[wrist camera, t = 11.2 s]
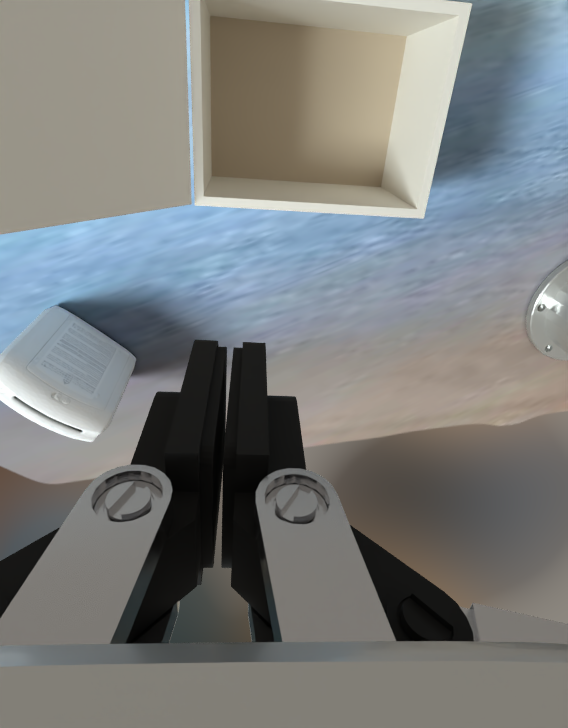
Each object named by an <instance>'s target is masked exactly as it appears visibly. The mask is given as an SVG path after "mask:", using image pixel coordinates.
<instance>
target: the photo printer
mask: <svg viewBox="0 0 568 728" xmlns="http://www.w3.org/2000/svg"><path fill="white" fill-rule="evenodd" d="M135 362H136V358H135V357H134V356H133V355H132V354H131V353H130V352H129V351H128V350H126V349H125V348H124V347H122V346H121V345H119V344H118V343H116V342H115V341H113V340H112V339H110V338H109V337H107V336H106V335H104V334H103V333H101V332H100V331H98V330H97V329H95V328H94V327H92V326H91V325H89V324H88V323H86V322H85V321H83V320H82V319H80V318H78V317H77V316H75V315H74V314H72V313H70V312H69V311H67V310H65V309H63V308H61V307H59V306H53V307H51V308H48V309H46V310H44V311H43V312H42V313H41V314H40V315H39V316H38V317H37V318H36V319H35V320H34V321H33V322H32V323H31V324H30V325H29V326H28V327H27V328H26V329H25V330H24V331H23V332H22V333H21V334H20V335H19V336H18V337H17V338H16V339H15V340H14V341H13V342H12V343H11V344H10V345H9V346H8V347H7V348H6V349H5V350H4V351H3V352H2V353H1V354H0V400H1V401H2V402H4V403H5V404H6V405H8V406H9V407H11V408H12V409H13V410H15V411H16V412H18V413H20V414H21V415H23V416H25V417H26V418H28V419H30V420H32V421H33V422H35V423H37V424H39V425H41V426H43V427H45V428H47V429H50V430H52V431H54V432H57V433H59V434H62V435H65V436H67V437H71V438H74V439H78V440H82V441H88V442H92V441H94V440H95V438H96V437H97V436H98V435H99V434H100V433H102V432H103V431H104V430H105V429H106V428H107V427H108V426H109V425H110V423H111V421H112V419H113V416H114V414H115V412H116V409H117V407H118V405H119V402H120V400H121V398H122V395H123V393H124V391H125V389H126V386H127V384H128V381H129V379H130V377H131V374H132V372H133V370H134V367H135Z"/></svg>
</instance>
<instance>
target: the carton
mask: <svg viewBox="0 0 568 728" xmlns="http://www.w3.org/2000/svg"><path fill="white" fill-rule="evenodd" d="M471 7H472V3H465V2H456V1H447V0H189V20H190V55H191V90H192V124H193V159H194V194H195V205H198V206H215V207H233V208H250V209H267V210H284V211H302V212H319V213H336V214H354V215H371V216H388V217H406V218H423V219H424V215H425V210H426V206H427V201H428V197H429V193H430V188H431V184H432V179H433V175H434V170H435V166H436V162H437V157H438V153H439V148H440V144H441V140H442V135H443V131H444V126H445V122H446V117H447V113H448V109H449V104H450V100H451V95H452V91H453V87H454V82H455V78H456V73H457V69H458V64H459V60H460V56H461V51H462V47H463V42H464V38H465V33H466V29H467V25H468V20H469V16H470V11H471Z"/></svg>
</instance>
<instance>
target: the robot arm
mask: <svg viewBox="0 0 568 728" xmlns="http://www.w3.org/2000/svg"><path fill="white" fill-rule="evenodd" d="M526 330H527V335H528V337H529V339H530V341H531V343H532V344H533V345H534V346H535V347H536V348H537V349H538V350H539V351H540V352H541V353H543V354H544V355H546V356H548V357H550V358H553V359H557V360H568V260H567V261H566V262H564V263H563V264H561V265H560V266H559V267H557V268H556V269H555V270H554V271H553V272H552V273H551V274H549V275H548V276H547V278H546V279H545V280H544V281H543V282H542V284H541V285H540V286H539V287H538V289H537V291H536V292H535V294H534V295H533V297H532V300H531V302H530V304H529V307H528V311H527V315H526ZM226 367H227V347H218V341H210V340H195V341H194V344H193V348H192V351H191V355H190V359H189V362H188V366H187V370H186V374H185V377H184V381H183V385H182V388H181V392H157V393H156V395H155V397H154V400H153V403H152V406H151V408H150V411H149V414H148V417H147V420H146V422H145V425H144V428H143V431H142V434H141V437H140V439H139V442H138V445H137V448H136V451H135V453H134V456H133V459H132V462H131V465H127V466H122V467H117V468H115V469H112V470H110V471H107V472H105V473H103V474H102V475H100V476H99V477H98V478H96V479H95V480H93V482H92V483H91V484H90V485H89V486H88V487H87V488H86V490H85V491H84V493H83V494H82V496H81V497H80V499H79V500H78V502H77V503H76V505H75V506H74V508H73V509H72V511H71V512H70V514H69V515H68V517H67V518H66V520H65V522H64V523H63V525H62V526H61V527H60V528H58V529H56V530H54V531H53V532H51V533H49V534H48V535H46V536H44V537H42V538H40V539H39V540H37V541H35V542H33V543H31V544H30V545H28V546H27V547H24V548H23V549H21V550H19V551H18V552H16V553H14V554H12V555H10V556H9V557H7V558H5V559H3V560H2V561H0V728H568V624H565V623H561V622H556V621H551V620H547V619H543V618H538V617H534V616H529V615H524V614H520V613H516V612H511V611H507V610H502V609H498V608H493V607H489V606H484V605H480V604H475V603H472V606H471V607H470V609H468V608H463V607H459V605H458V604H457V603H456V602H455V601H454V600H453V599H452V598H450V597H449V596H448V595H447V594H446V593H445V592H444V591H442V590H441V589H439V588H438V587H437V586H435V585H434V584H432V583H431V582H430V581H428V580H427V579H425V578H424V577H423V576H421V575H420V574H418V573H417V572H416V571H414V570H413V569H411V568H410V567H408V566H407V565H405V564H404V563H403V562H401V561H400V560H399V559H397V558H396V557H394V556H393V555H392V554H390V553H389V552H387V551H386V550H385V549H383V548H382V547H380V546H379V545H378V544H376V543H375V542H373V541H372V540H370V539H369V538H368V537H366V536H365V535H363V534H362V533H361V532H359V531H358V530H356V529H355V528H353V527H352V526H351V525H349V523H348V520H347V517H346V515H345V512H344V510H343V508H342V505H341V502H340V500H339V497H338V495H337V493H336V491H335V490H334V488H333V486H332V485H331V484H330V483H329V482H328V481H327V480H326V479H325V478H323V477H322V476H320V475H318V474H316V473H314V472H312V471H308V470H306V465H305V458H304V451H303V443H302V436H301V429H300V421H299V414H298V406H297V400H296V397H292V396H267V374H266V346H265V343H252V342H243V348H234V350H233V360H232V370H231V381H230V391H229V401H228V411H227V422H226ZM225 423H226V432H225ZM222 471H223V505H222V508H223V509H222V510H223V511H222V568H232V573H231V587H232V588H233V589H234V590H235V591H237V592H238V594H240V595H241V596H242V597H243V598H244V599H245V600H246V601H247V602H248V617H249V625H250V632H251V639H252V642H245V643H243V642H242V643H169V642H170V638H171V635H172V632H173V629H174V625H175V622H176V619H177V616H178V611H179V604H180V602H179V601H180V600H181V599H182V598H183V597H184V596H185V595H187V594H188V593H189V592H191V591H192V590H193V589H194V588H195V587H196V586H197V585H201V581H202V573H203V568H212V567H213V564H214V554H215V544H216V533H217V523H218V512H219V502H220V491H221V481H222Z"/></svg>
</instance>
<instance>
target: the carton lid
mask: <svg viewBox="0 0 568 728" xmlns="http://www.w3.org/2000/svg"><path fill="white" fill-rule="evenodd" d="M189 204H191V175H190V144H189V113H188V82H187V51H186V20H185V0H0V234H6V233H13V232H19V231H25V230H32V229H38V228H44V227H50V226H57V225H63V224H69V223H76V222H82V221H88V220H95V219H101V218H107V217H114V216H120V215H126V214H133V213H139V212H145V211H152V210H158V209H164V208H170V207H177V206H183V205H189Z"/></svg>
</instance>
